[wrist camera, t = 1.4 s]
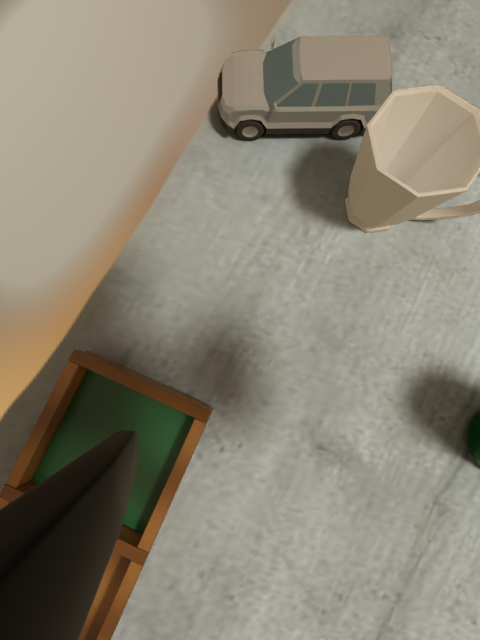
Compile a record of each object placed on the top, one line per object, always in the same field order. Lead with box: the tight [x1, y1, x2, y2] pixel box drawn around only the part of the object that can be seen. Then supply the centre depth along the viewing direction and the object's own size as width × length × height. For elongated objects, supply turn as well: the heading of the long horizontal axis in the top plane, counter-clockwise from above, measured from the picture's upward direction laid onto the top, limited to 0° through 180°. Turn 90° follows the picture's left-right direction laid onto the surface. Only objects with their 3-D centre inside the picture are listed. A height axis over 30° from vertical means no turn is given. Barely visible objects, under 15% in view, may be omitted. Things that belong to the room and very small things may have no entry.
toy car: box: [218, 36, 392, 140], centre depth 25 cm, size 6×13×5 cm, turn 91°
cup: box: [345, 85, 480, 233], centre depth 23 cm, size 7×10×8 cm
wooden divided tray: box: [0, 350, 213, 640], centre depth 22 cm, size 19×10×2 cm, turn 156°
